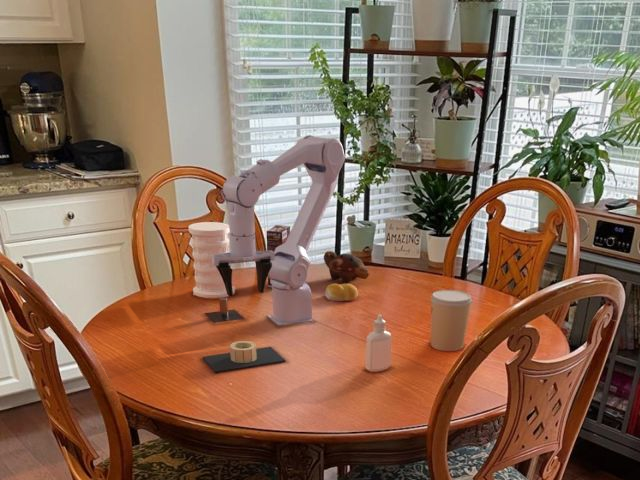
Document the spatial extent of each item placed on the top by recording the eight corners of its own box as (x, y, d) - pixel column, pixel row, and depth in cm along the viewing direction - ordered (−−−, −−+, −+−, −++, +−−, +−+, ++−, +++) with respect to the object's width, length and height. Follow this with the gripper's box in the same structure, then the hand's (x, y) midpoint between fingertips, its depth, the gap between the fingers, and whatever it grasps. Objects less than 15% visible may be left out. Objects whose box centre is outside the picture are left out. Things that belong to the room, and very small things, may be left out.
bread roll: (361, 300, 197) (362, 286, 195) (330, 303, 194) (330, 288, 192) (351, 292, 203) (352, 278, 201) (321, 294, 200) (321, 280, 198)
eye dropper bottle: (391, 372, 154) (394, 318, 148) (366, 372, 153) (368, 318, 147) (389, 364, 158) (391, 311, 151) (363, 364, 157) (365, 311, 151)
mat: (270, 348, 164) (270, 346, 164) (285, 361, 157) (285, 360, 157) (202, 358, 157) (202, 356, 157) (215, 373, 151) (215, 371, 150)
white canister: (444, 335, 174) (448, 286, 168) (474, 346, 169) (480, 296, 163) (419, 344, 169) (422, 294, 163) (449, 355, 163) (454, 304, 157)
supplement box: (283, 289, 203) (282, 232, 195) (267, 288, 204) (265, 230, 196) (292, 281, 211) (290, 225, 202) (276, 280, 211) (274, 224, 203)
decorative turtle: (328, 273, 219) (331, 246, 215) (373, 283, 215) (377, 256, 211) (314, 279, 212) (317, 251, 208) (361, 289, 207) (364, 262, 203)
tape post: (234, 311, 186) (233, 292, 183) (244, 320, 180) (243, 301, 177) (204, 315, 182) (202, 295, 180) (213, 324, 176) (212, 304, 174)
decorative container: (186, 297, 195) (179, 229, 185) (203, 285, 204) (197, 220, 195) (226, 301, 193) (221, 232, 183) (241, 289, 202) (237, 223, 193)
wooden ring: (245, 351, 161) (245, 339, 159) (261, 358, 157) (261, 346, 156) (225, 357, 157) (224, 344, 156) (241, 365, 154) (240, 352, 152)
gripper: (216, 240, 155) (220, 301, 162) (278, 235, 161) (280, 294, 168) (207, 233, 160) (211, 293, 167) (267, 229, 166) (269, 286, 173)
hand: (245, 293), depth 168 cm, fingers open, 7 cm apart
